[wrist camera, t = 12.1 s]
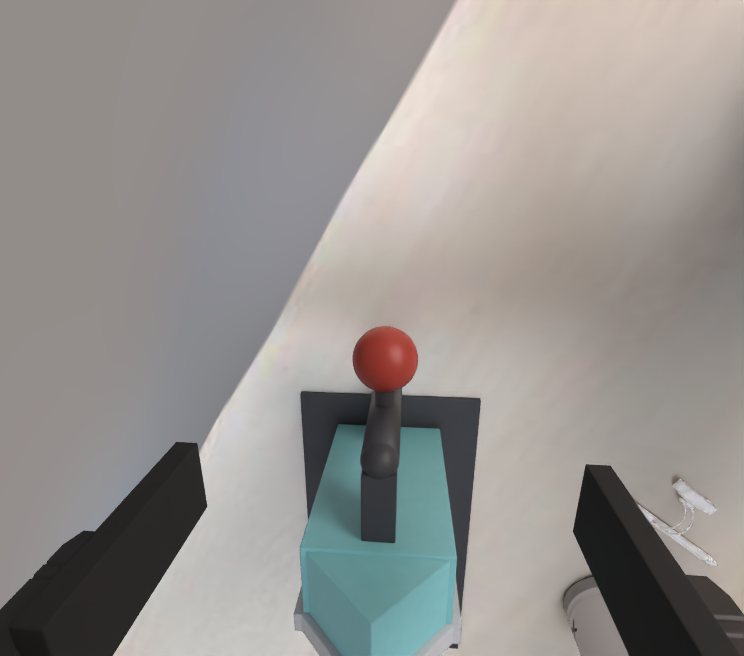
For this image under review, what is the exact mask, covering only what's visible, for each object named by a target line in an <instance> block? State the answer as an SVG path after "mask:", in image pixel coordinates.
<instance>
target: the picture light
mask: <svg viewBox="0 0 744 656" xmlns="http://www.w3.org/2000/svg"><path fill="white" fill-rule="evenodd" d="M673 486H674V488H675V489H676V490H677V491H678V493H679V494H680V495H681V496H682V497H683V498H684V499H685V500H684V499H682V498H679V501H680V502H681V503H683V506H684V516H683V519H682V520H681V522H680V523H679V524H678V525H676V526H674V527H669V526H668V525H666V524H665V523H663V522H662V521H661V520H659V519H658V518H657V517H655V516H654V515H652V514H651V513H650V512H648V511H647V510H646V509H644V508H643V507H641V506H640V505H639V504H637V503H636V504H637V505H638V506H639V508H640V509H641V511H642V512H643V514H644V515H645V517H646V518H647V519H648V521H649V522H650V523H651V524H653V525H654V526H656V527H657V528H658V529H660V530H661V531H663V532H664V533H665V534H667V535H668V536H669V537H671V538H672V539H674V540H675V541H676V542H678V543H679V544H681V545H682V546H683V547H685V548H686V549H688V550H689V551H690V552H692V553H693V554H694V555H696V556H697V557H699V558H700V559H701V560H702V561H703V562H705V563H706V564H708V565H711V566H715V567H717V566H718V565H717V564H716V562H715V561H714V559H713V558H712V557H711V556H710V555H709V554H707V553H705V552H703V551H702V550H701V549H699V548H698V547H697V546H695V545H694V544H692V543H691V542H690V541H688V540H687V539H685V538H684V537H683V536H681V535H680V534H683V533H685V532H687V531H688V530H689V529H690V528H691V526H692V524H693V522H694V514H693V510H694V507H693V506H695V507H696V508H698V509H700V510H702V511H705V512H706V513H707V514H713V513H714V512H715V511H717V510H718V508H717V507H716V506H715V505H714V504H713V503H711V502H710V501H709V500H708V499H707V498H706V497H704V496H703V495H701V494H700V493H699V492H697V491H696V490H695V489H693V488H692V487H691V486H689V485H688V484H687V483H686V482H684V481H683V480H682V479H679V480H678V481H677V482H676V483H674V484H673ZM692 505H693V506H692ZM686 506H687V507H688V508H689V509H690V510H691V513H692V521H691V524H690V526H689V527H688V528H687V529H686V530H685V531H683V532H680V533H677V532H676V531H674V530H673V529H674V528H677V527H678V526H680V525H681V524H682V523H683V521H684V519H685V517H686Z"/></svg>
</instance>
